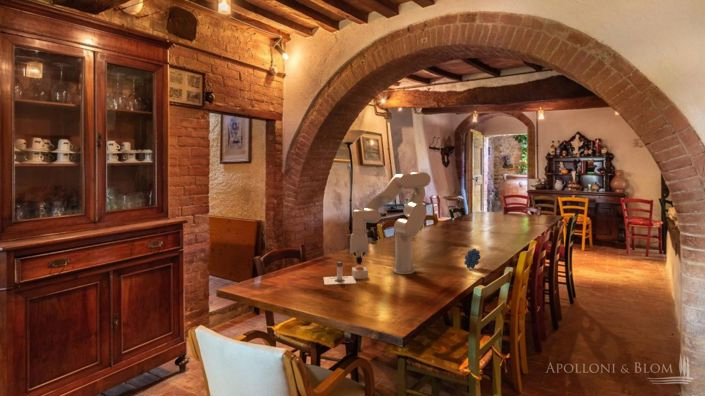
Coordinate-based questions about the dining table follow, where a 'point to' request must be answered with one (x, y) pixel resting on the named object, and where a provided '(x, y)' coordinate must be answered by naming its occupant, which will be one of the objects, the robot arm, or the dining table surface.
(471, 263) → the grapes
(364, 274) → the button housing
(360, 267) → the button
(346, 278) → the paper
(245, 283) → the dining table surface
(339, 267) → the marker
